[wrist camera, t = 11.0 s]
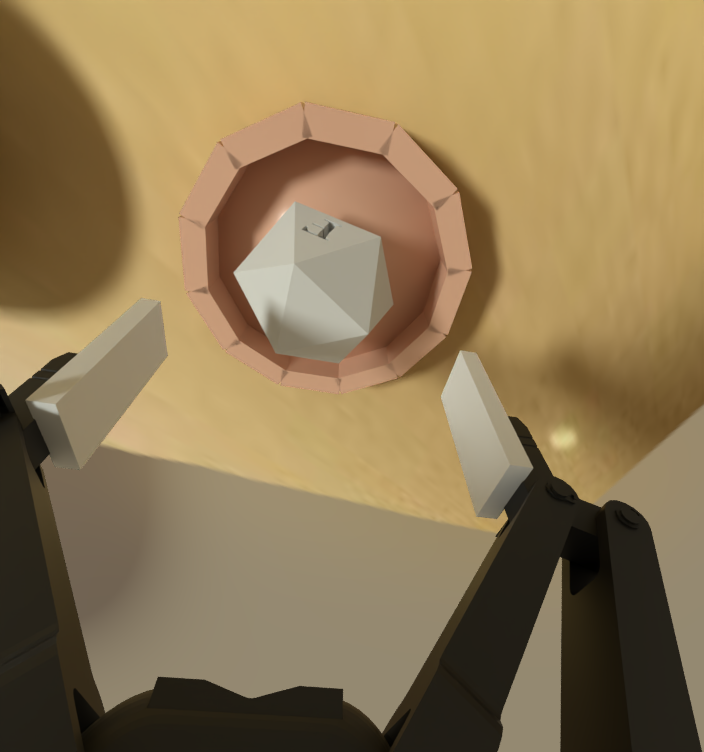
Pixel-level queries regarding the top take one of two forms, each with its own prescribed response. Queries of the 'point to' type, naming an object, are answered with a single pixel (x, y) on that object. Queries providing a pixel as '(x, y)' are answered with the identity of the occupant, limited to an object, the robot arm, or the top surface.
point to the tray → (342, 201)
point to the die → (316, 284)
